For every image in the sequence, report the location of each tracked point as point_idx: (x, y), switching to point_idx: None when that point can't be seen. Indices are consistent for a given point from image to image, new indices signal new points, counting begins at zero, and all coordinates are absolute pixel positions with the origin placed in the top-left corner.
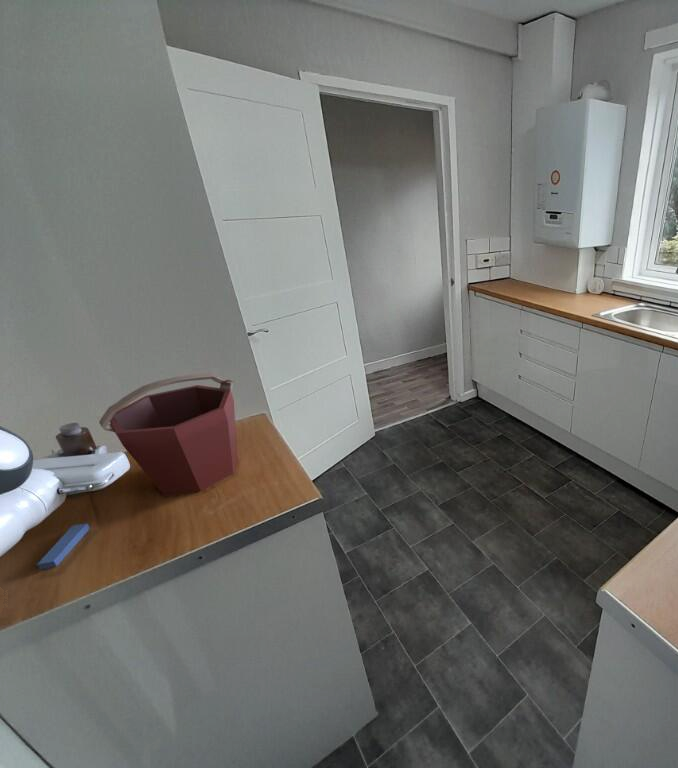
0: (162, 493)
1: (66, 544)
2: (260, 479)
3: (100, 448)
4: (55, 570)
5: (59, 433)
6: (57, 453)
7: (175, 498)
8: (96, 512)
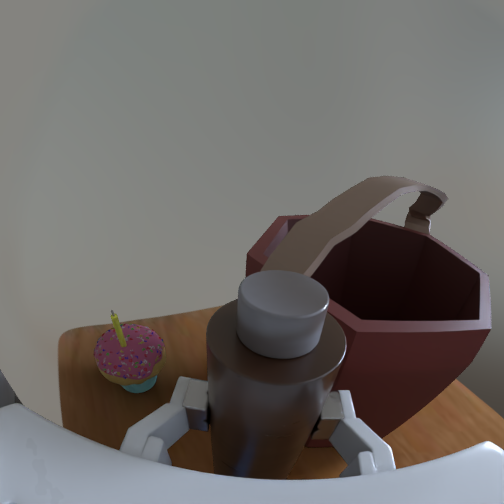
0: (308, 445)
1: None
2: (443, 413)
3: (353, 409)
4: None
5: (211, 320)
6: (184, 406)
7: (331, 456)
8: (189, 461)
